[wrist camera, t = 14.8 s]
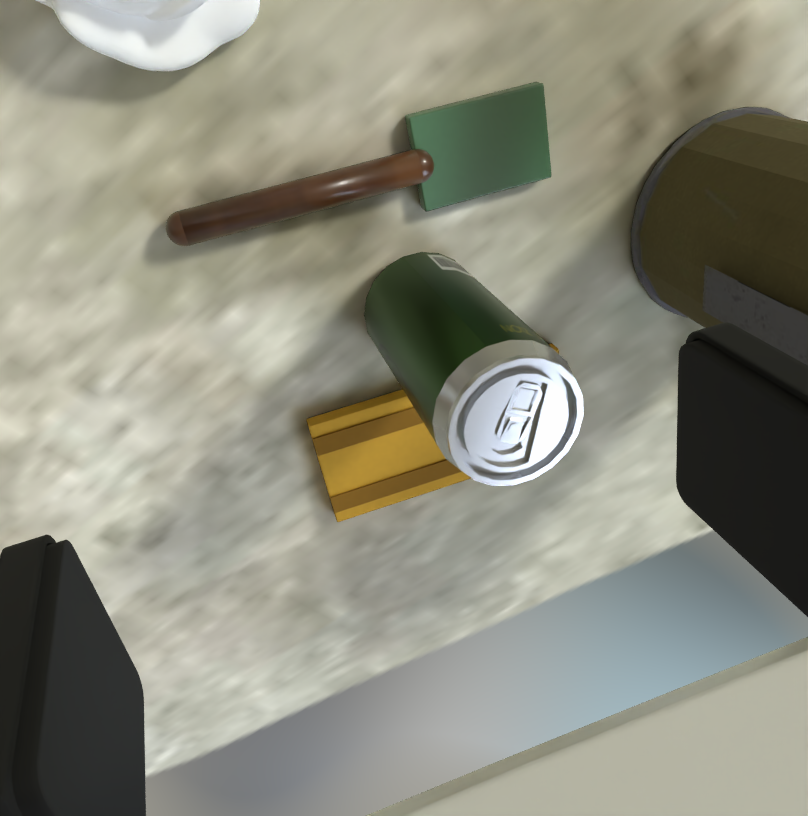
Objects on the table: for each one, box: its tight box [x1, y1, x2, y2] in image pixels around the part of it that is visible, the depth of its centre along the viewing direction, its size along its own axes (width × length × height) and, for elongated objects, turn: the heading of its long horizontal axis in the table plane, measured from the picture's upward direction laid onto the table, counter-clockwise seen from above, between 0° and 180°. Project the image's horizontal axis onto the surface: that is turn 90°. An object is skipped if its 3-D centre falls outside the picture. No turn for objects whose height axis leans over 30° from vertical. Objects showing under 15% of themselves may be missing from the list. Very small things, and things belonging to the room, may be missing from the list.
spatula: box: [166, 82, 551, 246], centre depth 32 cm, size 17×4×1 cm, turn 101°
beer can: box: [364, 252, 584, 486], centre depth 31 cm, size 5×5×12 cm
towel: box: [306, 343, 559, 522], centre depth 40 cm, size 13×6×1 cm, turn 101°
